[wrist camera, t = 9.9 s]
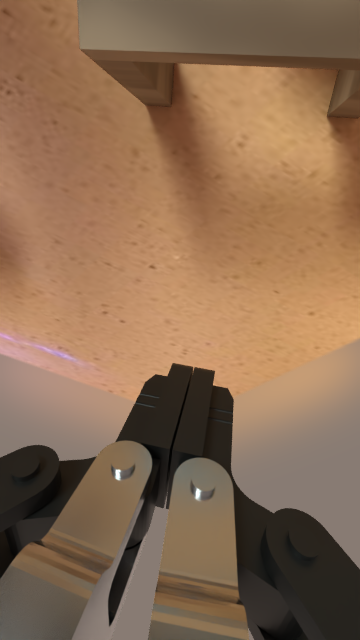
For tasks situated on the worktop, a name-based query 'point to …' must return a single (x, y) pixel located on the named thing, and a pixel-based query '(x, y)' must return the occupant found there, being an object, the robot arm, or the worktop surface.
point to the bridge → (222, 41)
